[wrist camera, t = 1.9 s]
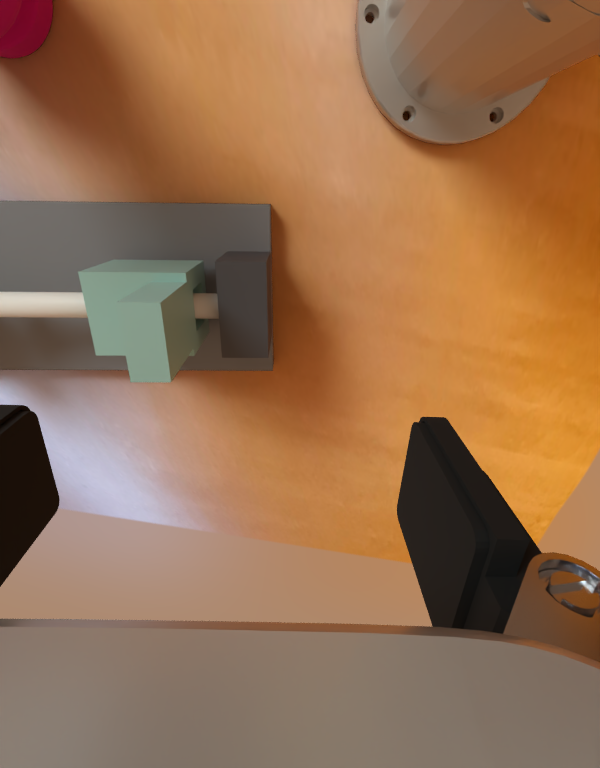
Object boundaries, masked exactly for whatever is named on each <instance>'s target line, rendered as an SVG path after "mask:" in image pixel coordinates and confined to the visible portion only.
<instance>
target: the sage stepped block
mask: <svg viewBox="0 0 600 768" xmlns="http://www.w3.org/2000/svg"><path fill="white" fill-rule="evenodd" d="M78 274H79V279H80V283H81V288H82V293H83V297H84V302H85V307H86V311H87V316H88V321H89V325H90V330H91V335H92V339H93V344H94V349H95V353H96V355H98V356H126V360H127V365H128V371H129V376H130V382H172V380H173V379H174V377H175V376H176V374H177V373H178V371H179V370H180V368H181V367H182V365H183V364H184V362H185V360H186V359H187V357H188V356H195V354H196V352H197V351H198V349H199V348H200V346H201V344H202V343H203V341H204V340H205V338H206V336H207V335H208V333H209V332H210V331H209V320H208V319H201V318H195V310H194V300H193V293H206V285H205V273H204V262H203V260H111V261H108V262H106V263H103V264H100V265H97V266H94V267H91V268H88V269H85V270H82V271H79V272H78Z"/></svg>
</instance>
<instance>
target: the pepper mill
mask: <svg viewBox="0 0 600 768" xmlns="http://www.w3.org/2000/svg"><path fill="white" fill-rule="evenodd" d="M52 15H53V4H52V0H0V57H6V58H20V57H23V56H27V55H29V54H31V53H33V52H34V51H35V50H37V49H38V48H39V47H40V46H41V45H42V43H43V42H44V40H45V39H46V37H47V35H48V32H49V29H50V26H51V22H52Z"/></svg>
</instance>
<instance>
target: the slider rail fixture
mask: <svg viewBox="0 0 600 768" xmlns="http://www.w3.org/2000/svg"><path fill="white" fill-rule="evenodd" d="M111 260H203V262H204V273H205V285H206V293H193V300H194V310H195V318H201V319H208V320H209V331H210V332H209V333H208V335H207V336H206V338H205V340H204V341H203V343H202V344H201V346H200V348H199V349H198V351H197V352H196V354H195V356H188V357H187V359H186V360H185V362H184V364H183V365H182V367H181V368H180V370H236V371H273V364H274V363H273V305H272V247H271V204H218V203H138V202H58V201H0V370H128V365H127V360H126V356H98V355H96V353H95V349H94V344H93V339H92V335H91V330H90V325H89V321H88V316H87V311H86V307H85V302H84V297H83V293H82V288H81V283H80V279H79V274H78V272H79V271H82V270H85V269H88V268H91V267H94V266H97V265H100V264H103V263H106V262H108V261H111Z"/></svg>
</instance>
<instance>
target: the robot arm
mask: <svg viewBox="0 0 600 768" xmlns="http://www.w3.org/2000/svg"><path fill="white" fill-rule="evenodd" d="M367 15H371V16H372V17H373V22H372V23H371V24H370V23H367V22H366V19H365V17H366V16H367ZM355 31H356V49H357V55H358V60H359V65H360V69H361V74H362V77H363V79H364V82H365V84H366V87H367V89H368V92H369V94H370V96H371V98H372V99H373V101H374V102H375V104H376V105H377V107H378V109H379V110H380V112H381V113H382V114H383V115H384V116H385V117H386V118H387V119H388V120H389V121H390V122H391V123H392V124H393V125H394V126H395V127H396V128H398V129H399V130H401V131H402V132H404V133H405V134H407V135H408V136H410V137H412V138H415V139H418V140H420V141H423V142H426V143H433V144H440V145H449V144H460V143H465V142H468V141H472V140H476V139H478V138H481V137H483V136H485V135H488V134H490V133H493V132H495V131H497V130H498V129H500V128H501V127H503V126H504V125H506V124H507V123H509V122H510V121H512V120H513V119H514V118H516V117H517V116H518V115H519V114H520V113H521V112H522V111H523V110H524V109H525V108H526V107H528V106H529V105H530V104H531V102H532V101H533V100H534V99H535V97H536V96H537V95H538V94H539V92H540V91H541V90H542V89H543V87H544V86H545V85H546V83H547V82H548V80H549V78H550V77H551V76H552V75H554V74H556V73H558V72H560V71H562V70H564V69H566V68H569V67H571V66H573V65H575V64H577V63H579V62H581V61H583V60H585V59H588V58H590V57H592V56H594V55H598V56H600V0H358V1H357V12H356V23H355ZM404 112H407V113H408V114H409V119H408V120H407V121H406V120H404V119H403V116H402V115H403V113H404ZM490 113H491V114H493V116H494V119H493V121H492V122H491V121H490V116H489V115H490ZM58 506H59V495H58V491H57V487H56V484H55V480H54V476H53V473H52V469H51V465H50V462H49V458H48V454H47V450H46V447H45V443H44V439H43V436H42V432H41V428H40V425H39V421H38V417H37V415H36V414H35V413H34V412H32V411H30V409H29V408H28V407H27V406H24V405H0V586H1V585H2V584H3V582H4V581H5V580H6V578H7V577H8V576H9V574H10V573H11V572H12V570H13V569H14V568H15V566H16V565H17V564H18V562H19V561H20V560H21V558H22V557H23V556H24V554H25V553H26V552H27V550H28V549H29V548H30V546H31V545H32V544H33V542H34V541H35V540H36V538H37V537H38V536H39V534H40V533H41V532H42V530H43V529H44V528H45V526H46V525H47V524H48V522H49V521H50V520H51V518H52V517H53V516H54V514H55V513H56V511H57V509H58ZM397 515H398V520H399V524H400V527H401V530H402V533H403V536H404V539H405V542H406V545H407V548H408V551H409V554H410V558H411V561H412V564H413V567H414V570H415V573H416V576H417V579H418V582H419V585H420V588H421V592H422V595H423V598H424V601H425V604H426V607H427V610H428V613H429V616H430V619H431V622H432V626H433V627H424V626H423V627H422V626H397V625H370V624H334V623H333V624H332V623H330V624H329V623H281V622H280V623H279V622H226V621H225V622H224V621H158V620H157V621H156V620H79V619H74V620H72V619H0V768H600V571H598V570H597V569H596V568H594V567H593V566H591V565H589V564H587V563H585V562H584V561H582V560H579V559H577V558H574V557H571V556H569V555H565V554H559V553H541V551H540V550H539V548H538V547H537V546H536V544H535V543H534V541H533V540H532V538H531V537H530V536H529V534H528V533H527V531H526V530H525V528H524V527H523V525H522V524H521V523H520V521H519V520H518V518H517V517H516V515H515V514H514V513H513V511H512V510H511V508H510V507H509V505H508V504H507V502H506V501H505V500H504V498H503V497H502V495H501V494H500V492H499V491H498V490H497V488H496V487H495V485H494V484H493V482H492V481H491V479H490V478H489V477H488V475H487V474H486V473H485V472H484V471H482V469H481V468H480V466H479V465H478V463H477V462H476V461H475V459H474V458H473V456H472V455H471V453H470V452H469V450H468V449H467V447H466V446H465V445H464V443H463V442H462V440H461V439H460V437H459V436H458V434H457V433H456V432H455V430H454V429H453V427H452V426H451V424H450V423H449V421H448V420H447V419H446V418H444V417H422V418H421V419H420V421H419V422H414V423H413V425H412V428H411V433H410V439H409V444H408V450H407V455H406V461H405V466H404V471H403V477H402V482H401V488H400V493H399V499H398V504H397Z"/></svg>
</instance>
